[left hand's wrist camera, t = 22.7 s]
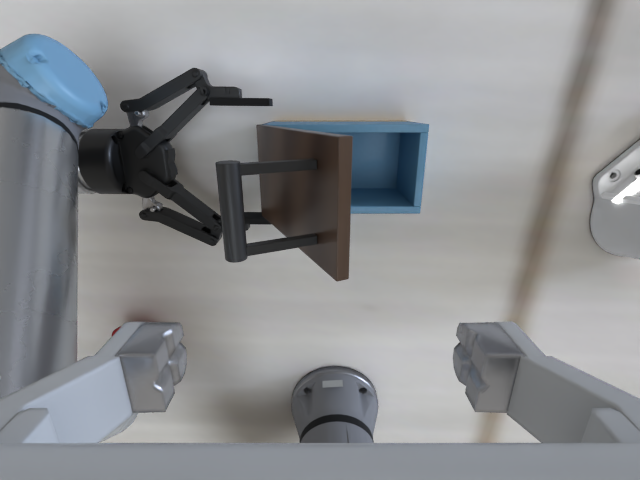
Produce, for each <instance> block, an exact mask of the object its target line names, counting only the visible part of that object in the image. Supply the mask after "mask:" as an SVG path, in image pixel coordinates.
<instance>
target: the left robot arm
mask: <svg viewBox="0 0 640 480" xmlns="http://www.w3.org/2000/svg"><path fill="white" fill-rule="evenodd" d="M611 173H612V176H611V177H610V175H611ZM593 193H594V205H593V208H592V212H591V219H590V226H591V232H592V235H593V237H594V239H595V241H596V243H597V244H598V245H599V246H600V247H601V248H602V249H603V250H605V251H606V252H608V253H611V254H613V255H617V256H624V257H631V258H635V259H640V140H639V141H637V142H636V143H635V144H634V145H633V146H631V147H630V148H629V149H628V150H626V151H625V152H624V153H623V154H621V155H620V156H619V157H618V158H616V159H615V160H614V161H613V162H612V163H610V164H609V165H608V166H607V167H605V168H604V169H603V170H602V171H600V172H599V173H598V174H597V175H596V176H595V177H594V179H593ZM183 336H184V333H183V328H182V325H181V324H180V323H178V322H127V323H124V324H123V325H122V326H121V327H120V329H119V330H118V331H117V332H116V333H115V334H114V335H113V336H112V337H111V338H110V339H109V340H108V342H107V343H106V344H105V345H104V346H103V347H102V348H101V349H100V350H99V351H98V352H97V353H96V354H95V356H88V357H86V358H84V359H82V360H80V361H77V362H75V363H73V364H71V365H69V366H67V367H65V368H63V369H61V370H59V371H57V372H55V373H52V374H50V375H48V376H46V377H44V378H42V379H40V380H38V381H36V382H34V383H32V384H30V385H28V386H25V387H23V388H21V389H19V390H17V391H15V392H13V393H11V394H9V395H7V396H5V397H3V398H0V480H640V399H639V398H637V397H635V396H633V395H631V394H629V393H627V392H625V391H623V390H621V389H619V388H616V387H614V386H612V385H610V384H608V383H606V382H604V381H602V380H600V379H598V378H596V377H594V376H592V375H589V374H587V373H585V372H583V371H581V370H579V369H577V368H575V367H573V366H571V365H569V364H567V363H565V362H563V361H560V360H558V359H556V358H554V357H552V356H545V355H544V353H543V352H542V351H541V350H540V349H539V348H538V347H537V346H536V345H535V344H534V343H533V342H532V340H531V339H530V338H529V337H528V336H527V335H526V334H525V333H524V332H523V331H522V330H521V329H520V327H519V326H518V325H517V324H516V323H514V322H486V323H459V325H458V328H457V333H456V336H457V338H458V339H459V341H460V343H459V344H458V345H457V346H456V347H455V348H454V353H453V364H454V370H455V373H456V376H457V378H458V380H459V381H460V382H461V383H463V384H464V385H465V386H466V392H465V394H466V395H467V397H468V399H469V401H470V403H471V405H472V407H473V409H474V411H475V412H496V413H507V415H508V416H510V417H511V418H512V419H513V420H515V421H516V422H517V423H518V424H519V425H521V426H522V427H523V428H524V429H526V430H527V431H528V432H529V433H530V434H532V435H533V436H534V437H535V438H536V439H538V440H539V441H540V442H541V443H99V442H100V441H101V440H102V439H104V438H105V437H106V436H107V435H109V434H110V433H111V432H112V431H113V430H115V429H116V428H117V427H118V426H119V425H121V424H122V423H123V422H124V421H126V420H127V419H128V418H129V417H130V416H132V415H133V413H143V412H165V411H166V409H167V407H168V405H169V403H170V401H171V399H172V397H173V395H174V394H175V391H174V386H175V385H176V384H177V383H179V382H180V381H181V380H182V378H183V376H184V374H185V369H186V365H187V352H186V348H185V347H184V346H183V345H182V344H181V343H180V341H181V339H182V338H183Z"/></svg>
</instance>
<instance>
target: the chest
mask: <svg viewBox="0 0 640 480" xmlns="http://www.w3.org/2000/svg"><path fill="white" fill-rule="evenodd" d="M262 125H271V126H279V127H287V128H295V129H303V130H310V131H318V132H326V133H334V134H341V135H349V136H353V147H352V180H351V213H420V209H421V207H420V206H421V199H422V189H423V179H424V169H425V159H426V149H427V140H428V130H429V124H423V123H416V122H409V121H273V122H270V123H266V124H262Z"/></svg>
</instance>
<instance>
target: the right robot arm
mask: <svg viewBox="0 0 640 480" xmlns="http://www.w3.org/2000/svg"><path fill="white" fill-rule="evenodd" d="M194 87H196V88H197V90H196V91H195V92H194V93H193V94H192V95H191V96H190V97H189V98H188V99H187V100H186V101H185V102H184V103H183V104H182V105H181V106H180V107H179V108H178V109H177V110H176V111H175V112H174V113H173V114H172V115H171V116H170V117H169V118H168V119H167V120H166V121H165V122H164V123H163V124H162V125H161V126H160V127H158V128H157V129H156V130H155V131H154V132H153V131H151V130H150V129H149V128H147V127H146V126H143V124H142V122H143V120H144V119H146V118H147V117H148V116H149V111H150V110H154V109H156V108H159V107H160V106H162V105H164V104H166V103H167V102H169V101H171V100H173V99H174V98H176V97H178V96H180V95H182V94H183V93H185V92H187V91H189V90H190V89H192V88H194ZM209 101H210V105H221V106H273V105H272V99H269V98H242V91H241V89H239V88H237V87H213V86H212V85H211V84H210V83H209V81H208V78H207V73H206V72H205V71H203V70H200V69H197V68H192V69H190V70H188V71H187V72H185V73H183V74H182V75H180V76H178V77H176V78H175V79H173V80H171V81H169V82H168V83H166V84H164V85H162V86H161V87H159V88H157V89H155V90H154V91H152V92H150V93H149V94H147V95H145V96H143V97H142V98H140V99H134V100H126V101H122V102H121V104H120V107H121V109H122V110H123V111H124V112H127V115H128V119H129V122H130V127H129V128H127V129H91V130H87V129H86V128H88V129H89V128H91V127H93V125H94V123H95V122H96V121H97V120H99V119H100V118H101V117H102V116H103V115H104V114H105V112H106V111H107V108H108V101H107V97H106V94H105V91H104V89H103V87H102V85H101V83H100V82H99V80H98V79H97V77H96V76H95V75H94V73H93V72H92V71H91V70H90V68H89V67H88V66H87V65H86V64H85V63H84V62H83V61H82V60H81V59H80V58H79V57H78V56H76V55H75V54H74V53H73V52H72V51H71V50H69V49H68V48H67V47H65V46H64V45H63V44H61V43H59V42H58V41H56V40H54V39H52V38H50V37H47V36H44V35H40V34H28V35H24V36H22V37H21V38H19V39H17V40H16V41H14V42H12V43H10V44H9V45H7V46H5V47H4V48H2V49H0V398H3V397H5V396H7V395H9V394H11V393H13V392H15V391H17V390H19V389H21V388H23V387H25V386H28V385H30V384H32V383H34V382H36V381H38V380H40V379H42V378H44V377H46V376H48V375H50V374H52V373H55V372H57V371H59V370H61V369H63V368H65V367H67V366H69V365H71V364H73V363H75V362H77V292H78V193H79V194H93V193H100V194H136V195H139V196H141V197H142V199H143V210H142V211H141V212H140V213H139V216H140V218H141V219H142V220H148V221H157V222H160V223H162V224H164V225H167V226H169V227H171V228H173V229H175V230H178V231H180V232H182V233H184V234H187V235H189V236H191V237H193V238H195V239H198V240H200V241H202V242H204V243H206V244H209V245H211V246H214V245H216V244H217V243H218V241H219V240H220V239H221V237H222V232H223V230H222V220H221V216H220V215H219V214H217V213H216V212H215V211H213V210H212V209H211V208H209V207H208V206H207V205H205V204H204V203H203V202H202V201H200V200H199V199H198V198H196V197H195V196H194V195H192V194H191V193H190V192H188V191H187V190H186V189H185V188H184V187H183V185H182V184H181V183H179V182H178V181H177V180H175V178H176V175H177V174H178V173H177V167H176V164H175V162H174V160H175V150H174V148H172V146H171V145H170V143H169V142H170V141H171V140H172V139H173V138H174V137H175V136H176V135H177V133H178V132H179V131H180V130H181V129H182V128H183V127H184V126H185V125H186V124H187V123H188V122H189V121H190V120H191V119H192V118H193V117H194V116H195V115H196V114H197V113H198V112H199V111H200V110H201V109H202V108H203V107H204V106H205V105H206V104H207V103H208V102H209ZM158 193H160V194H161V195H163V196H164V197H165V198H167V199H170V200H172V201H174V202H175V203H176V204H178V205H179V206H180V207H182V208H183V209H184V210H186V211H187V212H188V213H190V214H191V215H192V216H194V217H195V218H196V219H198V220H199V221H200V222H202V223H200V222H198V221H196V220H194V219H192V218H190V217H187V216H185V215H183V214H181V213H179V212H177V211H174V210H172V209H170V208H166V207H163V205H162V203H160V202H157V201H156V200H155V199H154V196H155V195H156V194H158ZM244 218H245V231H246V230H248V229H249V227H250V224H271V223H270V222H269V221H268V220H267V219H265V218H264V217H263V216H262V212H244ZM291 408H292V414H293V418H294V421H295V425H296V428H297V431H298V434H299V438H300V443H374V442H373V432H374V427H375V422H376V418H377V413H378V400H377V395H376V391H375V388H374V387H373V385H372V383H371V382H370V381H369V380H368V379H367V378H366V377H365V376H364V375H362V374H361V373H359V372H357V371H355V370H352V369H349V368H345V367H325V368H321V369H318V370H315V371H313V372H311V373H309V374H307V375H306V376H305V377H303V378H302V379H301V380H300V381H299V383H298V384H297V385H296V387H295V389H294V392H293V396H292V407H291Z"/></svg>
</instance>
